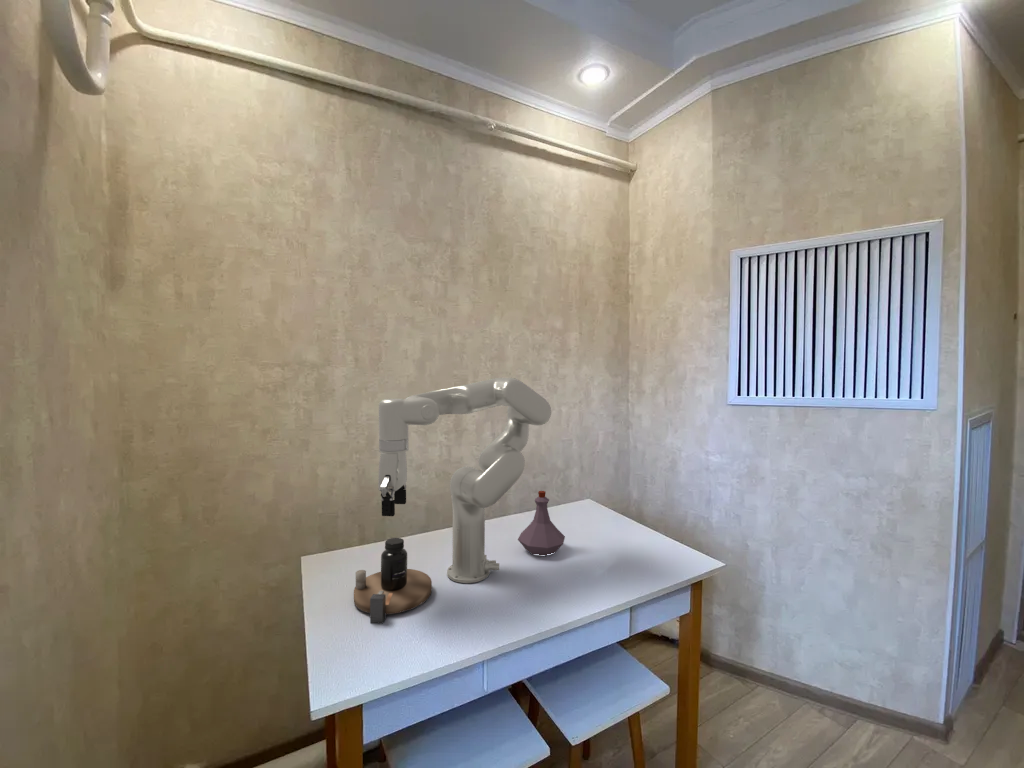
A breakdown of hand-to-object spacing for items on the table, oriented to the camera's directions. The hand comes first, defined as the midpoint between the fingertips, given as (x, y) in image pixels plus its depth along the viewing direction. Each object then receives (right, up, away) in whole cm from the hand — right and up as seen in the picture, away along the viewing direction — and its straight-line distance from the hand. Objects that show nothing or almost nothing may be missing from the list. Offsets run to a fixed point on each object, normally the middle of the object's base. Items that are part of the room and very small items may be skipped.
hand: (394, 509), depth 114 cm
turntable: (0, -23, 0) cm, 23 cm away
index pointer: (-1, -24, -11) cm, 26 cm away
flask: (+41, -23, +30) cm, 56 cm away
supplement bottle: (0, -21, +1) cm, 21 cm away
